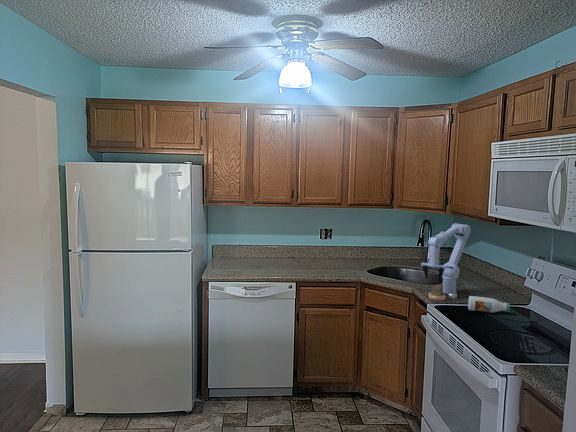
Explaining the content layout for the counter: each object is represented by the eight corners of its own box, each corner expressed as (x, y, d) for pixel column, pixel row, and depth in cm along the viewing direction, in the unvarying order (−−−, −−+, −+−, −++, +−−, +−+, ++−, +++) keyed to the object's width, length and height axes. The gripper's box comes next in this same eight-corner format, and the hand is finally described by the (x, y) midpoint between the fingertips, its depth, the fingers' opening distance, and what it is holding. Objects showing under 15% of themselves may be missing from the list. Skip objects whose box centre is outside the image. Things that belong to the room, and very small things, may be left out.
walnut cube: (434, 293, 254) (434, 284, 254) (442, 294, 252) (443, 286, 251) (431, 295, 250) (431, 286, 250) (440, 296, 247) (440, 288, 247)
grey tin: (449, 296, 256) (449, 291, 256) (457, 298, 254) (457, 293, 253) (446, 298, 252) (447, 293, 252) (455, 300, 250) (455, 295, 249)
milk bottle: (469, 294, 230) (510, 298, 223) (468, 297, 236) (507, 301, 230) (469, 308, 227) (510, 313, 221) (467, 311, 234) (507, 315, 228)
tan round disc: (430, 295, 258) (431, 291, 258) (447, 298, 253) (448, 294, 252) (425, 299, 250) (426, 295, 250) (443, 302, 244) (443, 298, 244)
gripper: (420, 256, 255) (418, 278, 256) (444, 259, 247) (443, 282, 248) (423, 255, 261) (422, 276, 262) (448, 257, 252) (446, 280, 254)
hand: (433, 279), depth 255 cm, fingers open, 7 cm apart
